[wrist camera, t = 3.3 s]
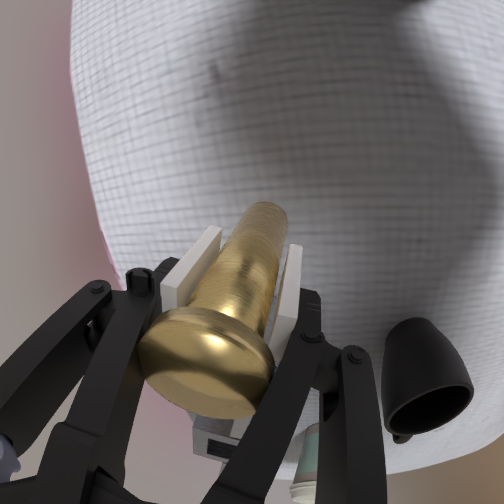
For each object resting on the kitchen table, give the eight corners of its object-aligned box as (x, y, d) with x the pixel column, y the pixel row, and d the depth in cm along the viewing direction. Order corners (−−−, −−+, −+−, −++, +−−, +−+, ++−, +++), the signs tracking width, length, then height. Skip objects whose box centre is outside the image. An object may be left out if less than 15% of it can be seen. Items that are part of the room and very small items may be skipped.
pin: (240, 187, 21) (126, 311, 8) (302, 201, 21) (286, 357, 7) (232, 243, 23) (143, 394, 10) (288, 256, 23) (256, 429, 9)
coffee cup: (290, 421, 34) (278, 494, 24) (348, 412, 31) (347, 491, 21) (306, 443, 37) (298, 506, 26) (357, 436, 34) (356, 501, 24)
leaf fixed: (221, 353, 30) (192, 427, 21) (291, 369, 29) (280, 448, 20) (212, 419, 38) (194, 472, 29) (262, 431, 37) (249, 485, 28)
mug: (356, 384, 28) (359, 454, 20) (384, 305, 23) (406, 387, 15) (416, 382, 27) (430, 446, 19) (455, 306, 22) (491, 376, 13)
